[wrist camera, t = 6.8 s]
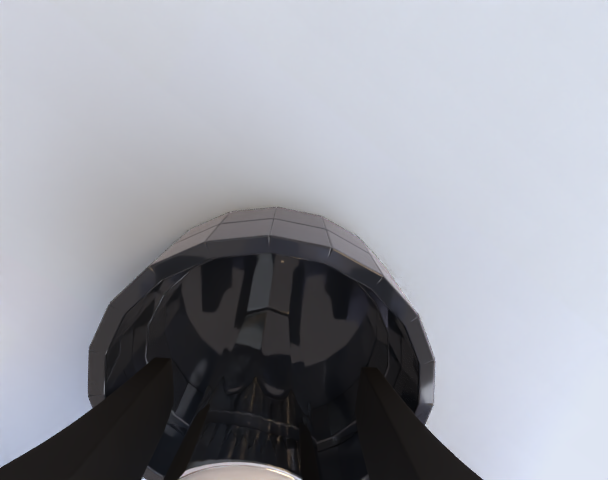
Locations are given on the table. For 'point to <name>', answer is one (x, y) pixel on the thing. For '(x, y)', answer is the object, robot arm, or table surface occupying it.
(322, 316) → the bowl
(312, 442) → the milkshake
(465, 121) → the table surface
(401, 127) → the table surface
